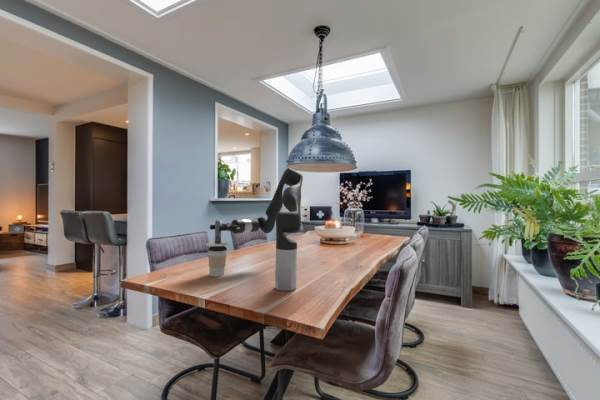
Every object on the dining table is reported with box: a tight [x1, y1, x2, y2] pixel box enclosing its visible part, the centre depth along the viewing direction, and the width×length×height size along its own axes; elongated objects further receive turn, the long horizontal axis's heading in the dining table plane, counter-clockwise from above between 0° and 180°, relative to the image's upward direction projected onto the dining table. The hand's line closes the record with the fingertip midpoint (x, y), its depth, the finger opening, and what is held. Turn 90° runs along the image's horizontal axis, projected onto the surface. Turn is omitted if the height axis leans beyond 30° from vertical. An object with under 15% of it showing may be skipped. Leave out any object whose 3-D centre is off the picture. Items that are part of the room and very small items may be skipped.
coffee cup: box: [207, 246, 228, 278], centre depth 145 cm, size 9×9×15 cm
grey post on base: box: [205, 220, 230, 247], centre depth 145 cm, size 11×11×12 cm
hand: (214, 227), depth 143 cm, fingers open, 8 cm apart
